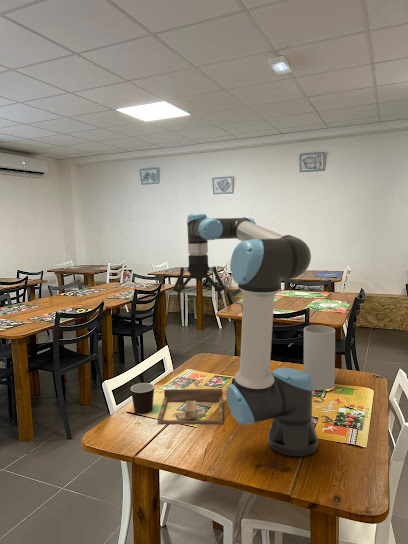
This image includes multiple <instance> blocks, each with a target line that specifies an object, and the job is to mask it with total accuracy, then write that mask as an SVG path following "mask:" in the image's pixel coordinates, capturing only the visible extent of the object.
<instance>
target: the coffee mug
mask: <svg viewBox="0 0 408 544" xmlns="http://www.w3.org/2000/svg"><path fill="white" fill-rule="evenodd" d="M130 393H131V394H130V395H131V399H132V404H133V409H134V410H133V411H134V415H135V416H137V414H138V415H146V414H149V413H152V411H153V409H154V394H155V385H154V384H152V383H148V382H139V383H136V384H134V385H131V387H130Z"/></svg>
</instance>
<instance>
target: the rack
mask: <svg viewBox="0 0 408 544" xmlns="http://www.w3.org/2000/svg"><path fill="white" fill-rule="evenodd" d="M163 391H164V395H163V396H164V397H163V401H162V404H161V406H160V410H159V413H158V416H157V425H224V423H223V422H224V421H223V388H191V389H190V388H189V389H187V388H186V389H184V388H183V389H182V388H181V389H180V388H177V389H175V388H174V389H170V388H169V389H167V388H166V389H165V388H164V390H163ZM186 401H196V403H218V419H191V420H178V419H177V420H175V419H173V420H172V419H171V420H169V419H166V420H164V417H165V414H166V409H167V406H168V403H186Z"/></svg>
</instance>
